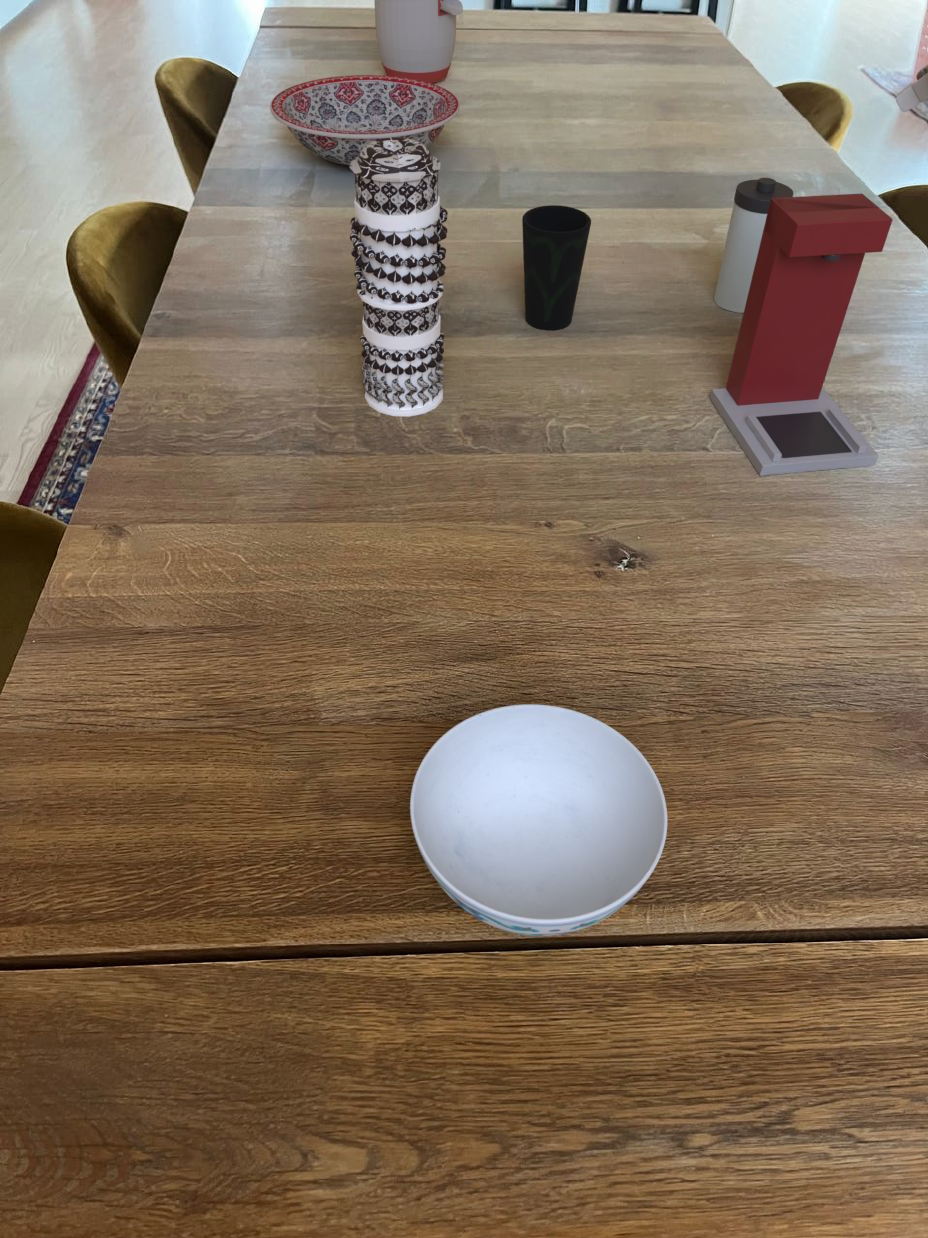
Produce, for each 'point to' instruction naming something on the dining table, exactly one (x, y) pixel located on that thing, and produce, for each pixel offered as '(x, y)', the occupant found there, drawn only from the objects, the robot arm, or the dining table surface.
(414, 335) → the stacked patterned cylinder
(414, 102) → the ceramic bowl
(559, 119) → the dining table surface
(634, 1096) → the dining table surface
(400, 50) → the citrus juicer
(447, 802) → the chinaware
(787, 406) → the coffee machine
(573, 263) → the cup
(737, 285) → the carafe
